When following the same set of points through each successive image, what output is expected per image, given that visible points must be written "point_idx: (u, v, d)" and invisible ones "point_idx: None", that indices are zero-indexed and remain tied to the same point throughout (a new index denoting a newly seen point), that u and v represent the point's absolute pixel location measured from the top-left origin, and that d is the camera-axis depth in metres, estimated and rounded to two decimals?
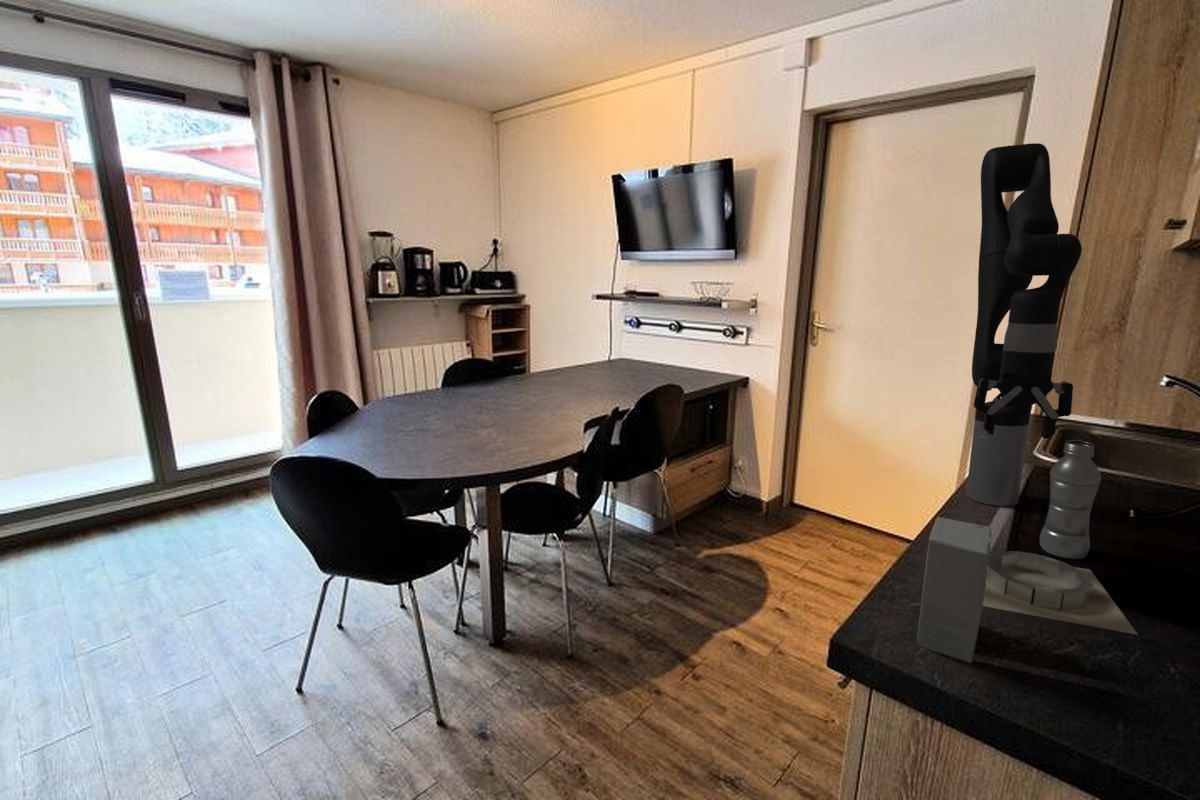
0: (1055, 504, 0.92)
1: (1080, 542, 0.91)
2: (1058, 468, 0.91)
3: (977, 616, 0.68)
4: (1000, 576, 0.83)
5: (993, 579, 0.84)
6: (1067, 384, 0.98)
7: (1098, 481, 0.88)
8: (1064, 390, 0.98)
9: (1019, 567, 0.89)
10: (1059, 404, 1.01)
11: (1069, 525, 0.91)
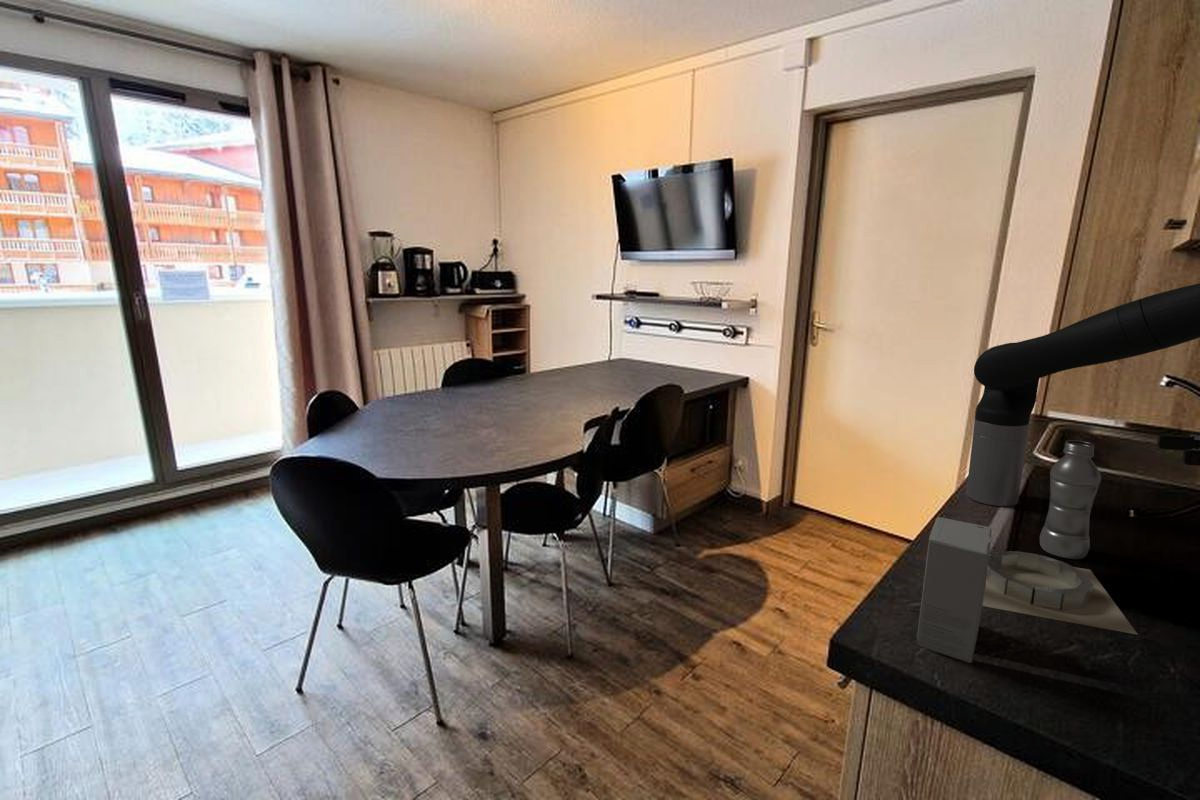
0: (1055, 504, 0.92)
1: (1080, 542, 0.91)
2: (1058, 468, 0.91)
3: (977, 616, 0.68)
4: (1000, 576, 0.83)
5: (993, 579, 0.84)
6: None
7: (1098, 481, 0.88)
8: None
9: (1019, 567, 0.89)
10: None
11: (1069, 525, 0.91)
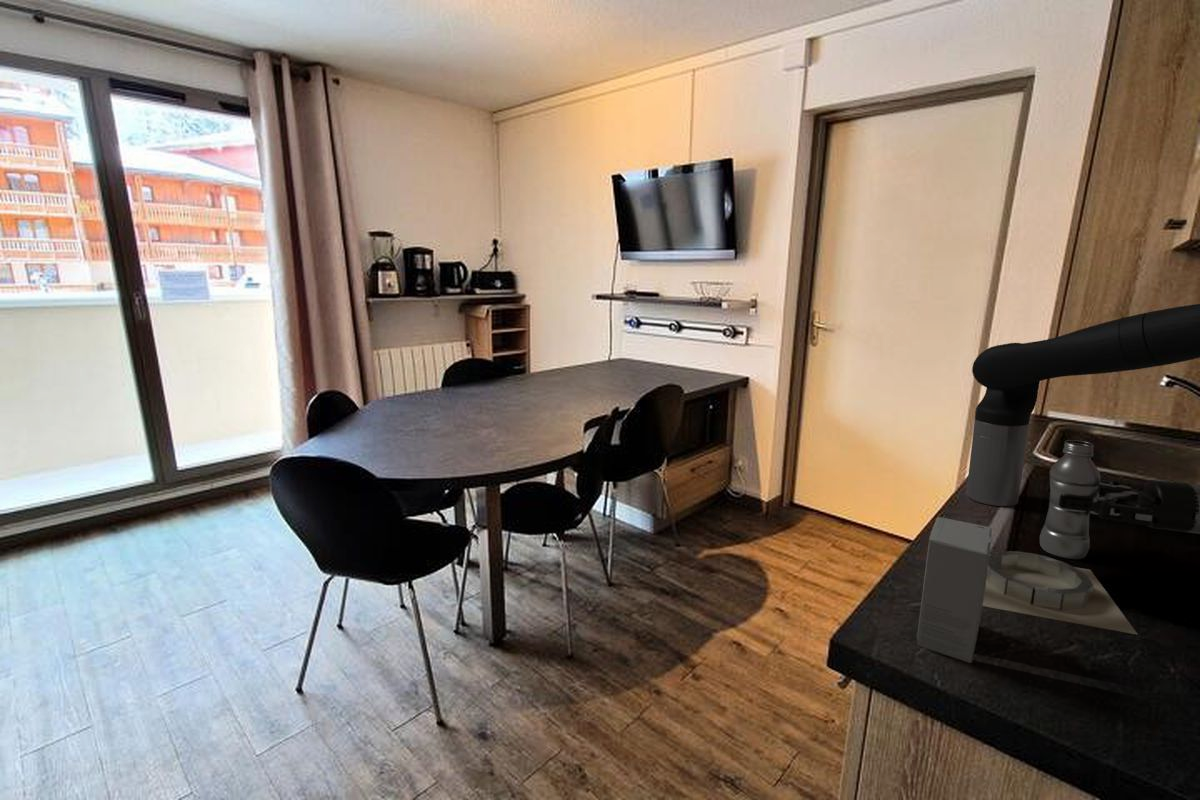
0: (1055, 504, 0.92)
1: (1080, 542, 0.91)
2: (1057, 468, 0.91)
3: (977, 616, 0.68)
4: (1000, 576, 0.83)
5: (993, 579, 0.84)
6: None
7: (1098, 481, 0.88)
8: None
9: (1019, 567, 0.89)
10: None
11: (1068, 525, 0.91)
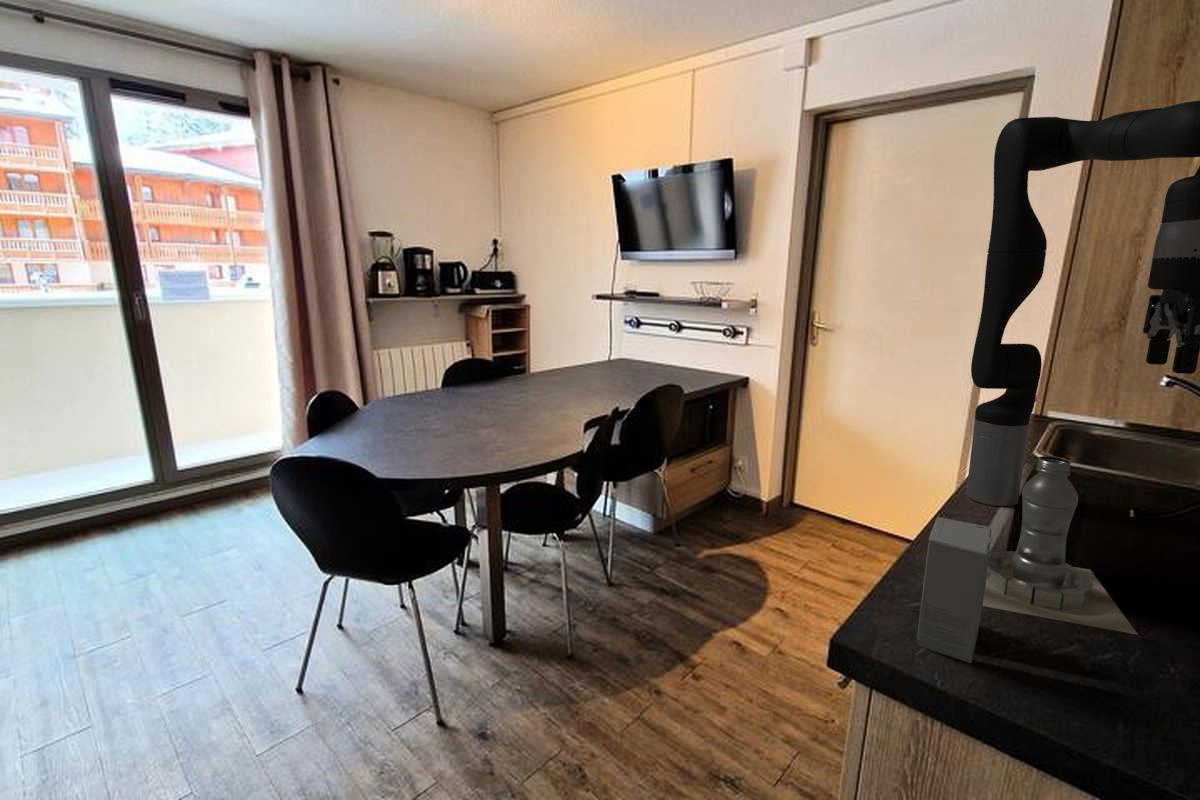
0: (1027, 528, 0.82)
1: (1055, 571, 0.80)
2: (1030, 487, 0.81)
3: (977, 616, 0.68)
4: (1000, 576, 0.83)
5: (993, 579, 0.84)
6: None
7: (1075, 503, 0.78)
8: None
9: None
10: None
11: (1042, 552, 0.81)
